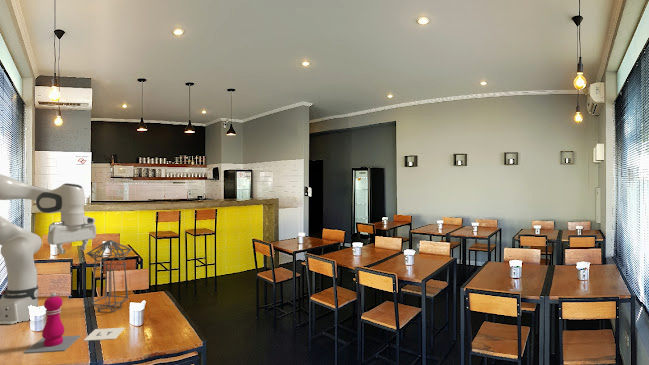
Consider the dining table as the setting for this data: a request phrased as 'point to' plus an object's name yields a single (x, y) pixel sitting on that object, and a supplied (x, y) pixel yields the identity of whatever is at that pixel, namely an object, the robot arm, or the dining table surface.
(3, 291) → the robot arm
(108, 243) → the geometric lantern
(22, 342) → the dining table surface
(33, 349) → the slate mat
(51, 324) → the pepper mill
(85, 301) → the dining table surface
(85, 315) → the dining table surface
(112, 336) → the white flat square plate
